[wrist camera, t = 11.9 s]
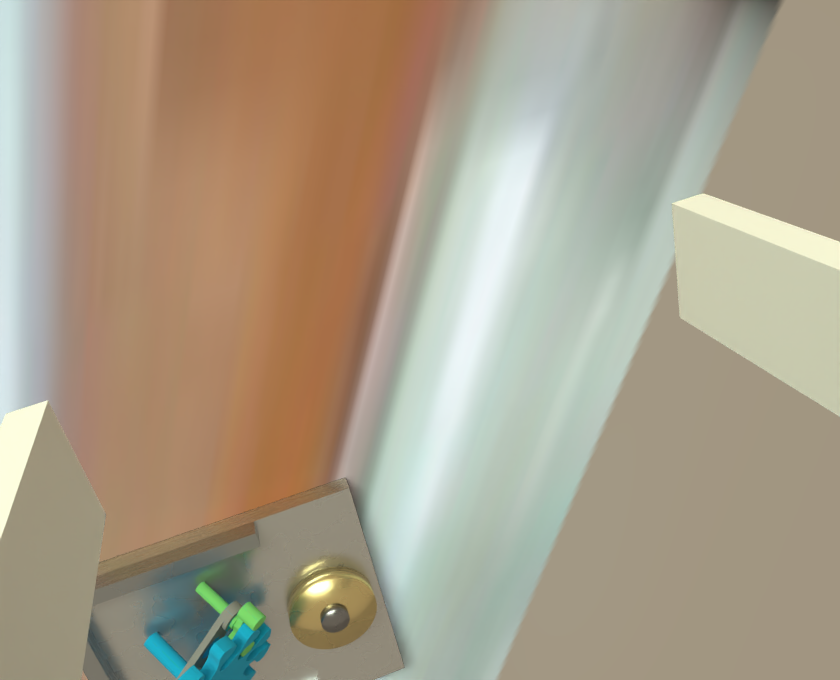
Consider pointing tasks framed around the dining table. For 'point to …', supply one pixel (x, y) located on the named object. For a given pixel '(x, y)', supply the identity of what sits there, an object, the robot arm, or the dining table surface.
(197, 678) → the gear
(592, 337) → the dining table surface
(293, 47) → the dining table surface
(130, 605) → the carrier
